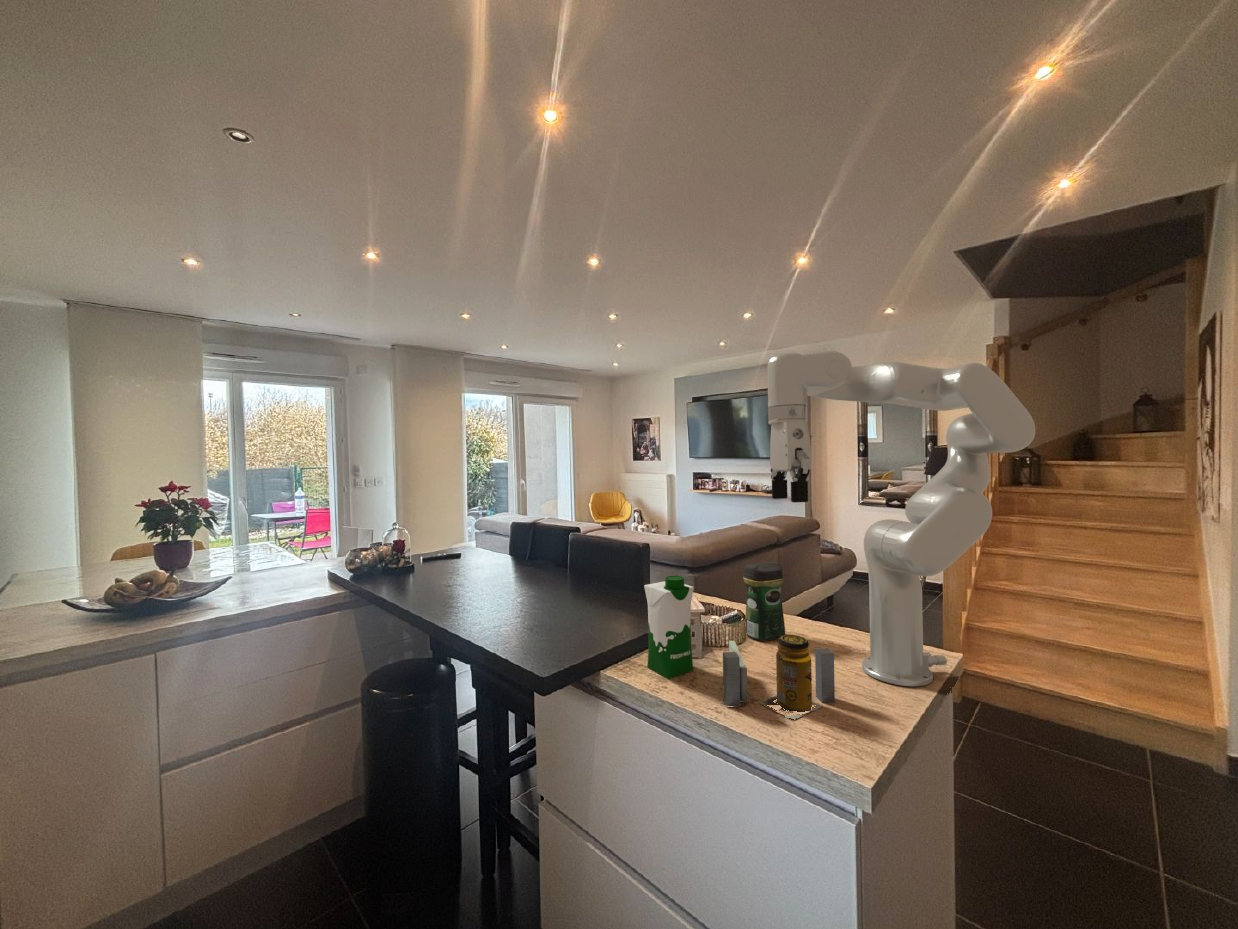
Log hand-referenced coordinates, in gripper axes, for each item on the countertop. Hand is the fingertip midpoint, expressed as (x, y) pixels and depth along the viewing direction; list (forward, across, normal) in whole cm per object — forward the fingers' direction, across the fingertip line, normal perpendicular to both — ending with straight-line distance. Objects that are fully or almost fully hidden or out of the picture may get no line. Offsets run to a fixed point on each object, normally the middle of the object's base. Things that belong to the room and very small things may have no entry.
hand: (789, 500), depth 98 cm
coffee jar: (+36, +24, -3) cm, 44 cm away
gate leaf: (+36, -3, +12) cm, 38 cm away
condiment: (+37, -10, +5) cm, 38 cm away
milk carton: (+36, +7, +24) cm, 44 cm away
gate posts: (+36, -9, +6) cm, 38 cm away
